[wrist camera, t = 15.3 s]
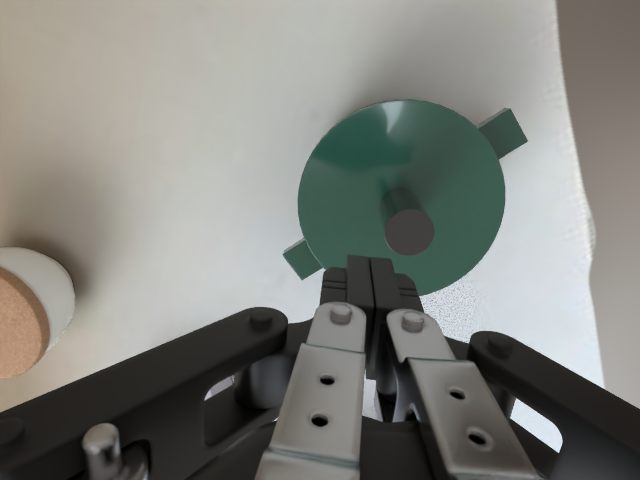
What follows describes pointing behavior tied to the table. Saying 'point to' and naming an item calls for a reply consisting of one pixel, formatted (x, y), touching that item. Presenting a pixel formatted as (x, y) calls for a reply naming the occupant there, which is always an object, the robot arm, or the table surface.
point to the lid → (403, 192)
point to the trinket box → (31, 307)
